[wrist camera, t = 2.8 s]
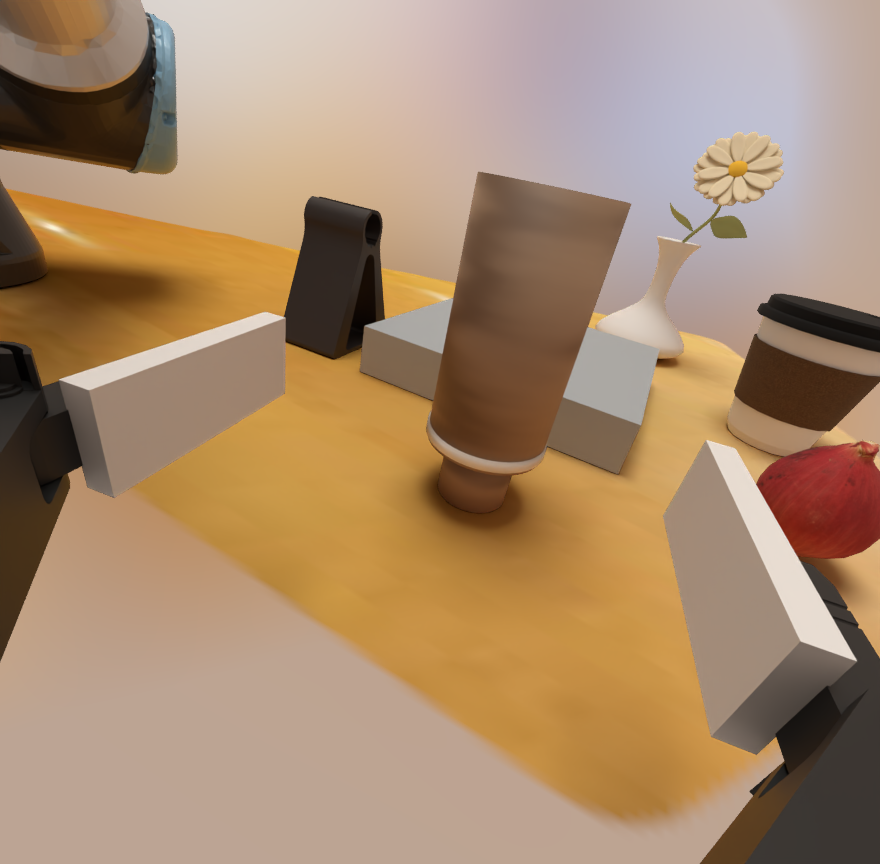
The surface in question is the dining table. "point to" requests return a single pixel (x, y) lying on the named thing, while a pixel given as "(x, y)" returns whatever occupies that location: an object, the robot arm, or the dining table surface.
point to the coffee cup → (803, 373)
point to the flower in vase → (726, 181)
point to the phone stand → (336, 278)
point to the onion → (826, 499)
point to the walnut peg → (515, 330)
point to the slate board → (584, 401)
